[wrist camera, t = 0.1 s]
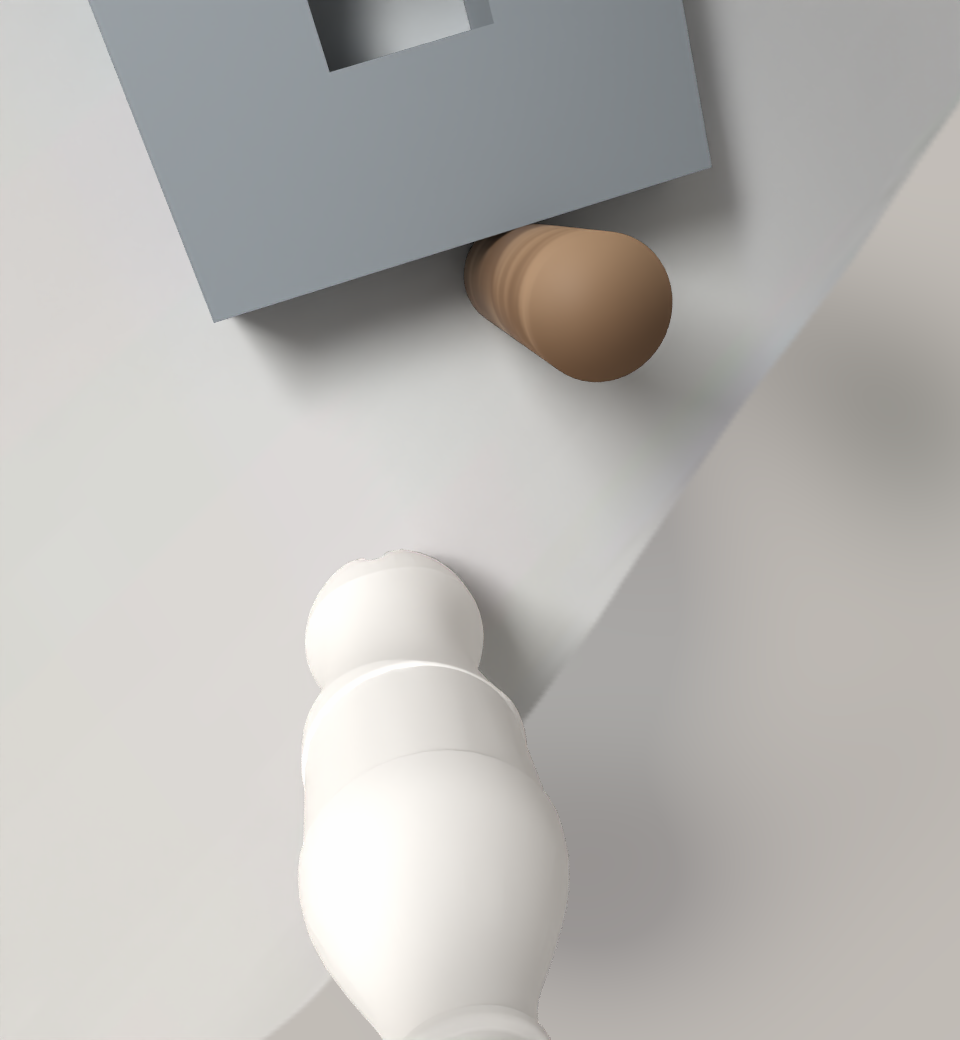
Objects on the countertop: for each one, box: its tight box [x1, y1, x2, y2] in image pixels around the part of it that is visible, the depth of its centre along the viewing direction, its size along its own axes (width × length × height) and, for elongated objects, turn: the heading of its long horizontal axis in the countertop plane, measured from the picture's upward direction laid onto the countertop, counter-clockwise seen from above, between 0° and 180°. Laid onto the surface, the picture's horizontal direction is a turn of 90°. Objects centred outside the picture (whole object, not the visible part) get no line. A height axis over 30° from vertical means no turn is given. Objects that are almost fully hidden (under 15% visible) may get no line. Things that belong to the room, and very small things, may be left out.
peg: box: [464, 223, 672, 382], centre depth 30 cm, size 4×4×12 cm
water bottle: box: [298, 549, 569, 1040], centre depth 28 cm, size 7×7×25 cm
